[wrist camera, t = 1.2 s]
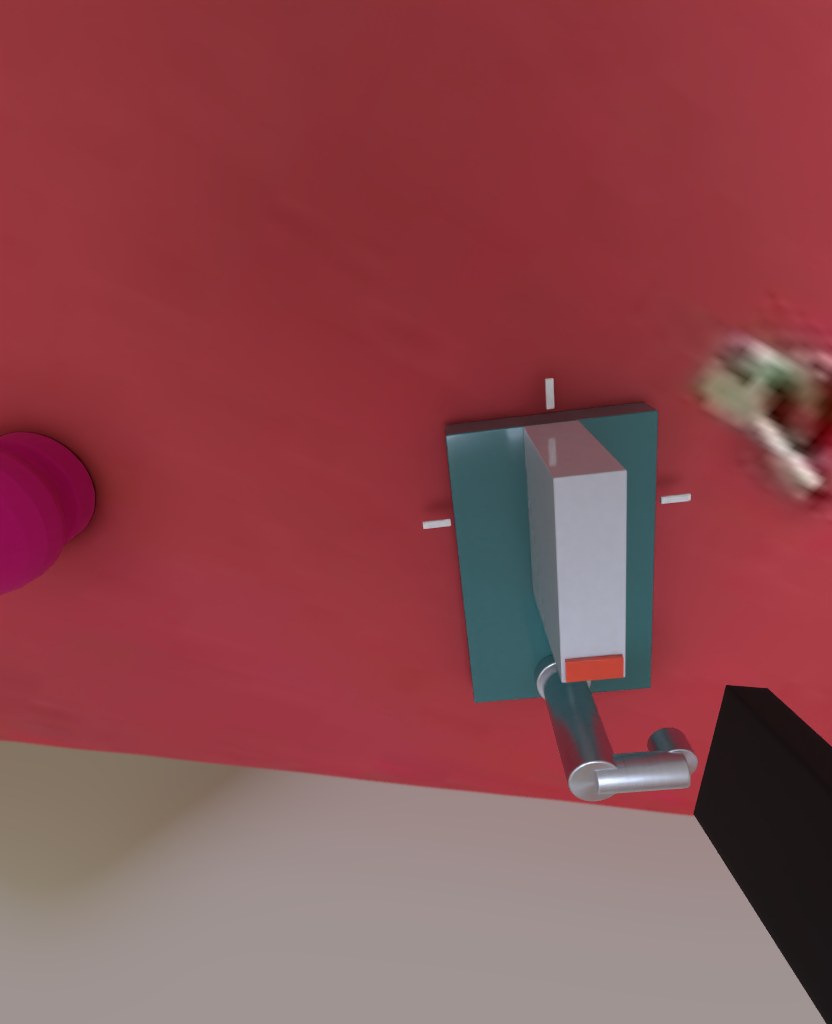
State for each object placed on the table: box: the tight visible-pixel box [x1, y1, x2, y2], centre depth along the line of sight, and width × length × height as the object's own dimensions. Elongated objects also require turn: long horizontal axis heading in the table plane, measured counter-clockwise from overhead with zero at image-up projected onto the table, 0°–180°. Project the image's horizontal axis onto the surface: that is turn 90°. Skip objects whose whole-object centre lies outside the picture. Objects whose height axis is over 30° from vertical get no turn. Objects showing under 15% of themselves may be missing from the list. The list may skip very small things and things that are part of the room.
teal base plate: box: [423, 378, 691, 703], centre depth 32 cm, size 18×13×2 cm
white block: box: [523, 420, 627, 683], centre depth 26 cm, size 9×3×8 cm, turn 7°
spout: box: [534, 655, 698, 801], centre depth 30 cm, size 6×3×8 cm, turn 97°
